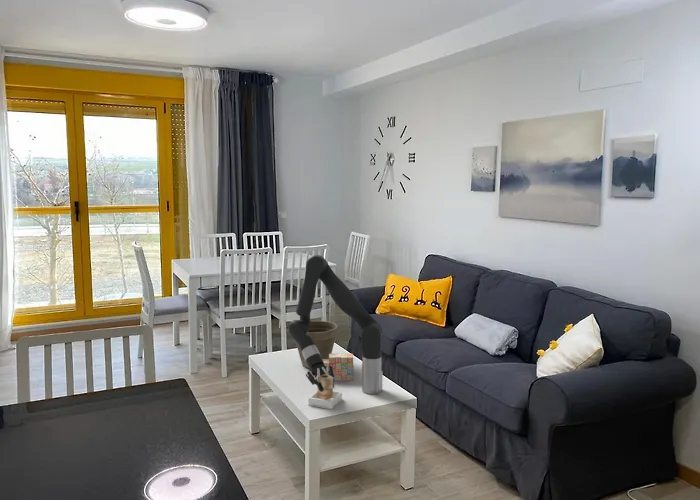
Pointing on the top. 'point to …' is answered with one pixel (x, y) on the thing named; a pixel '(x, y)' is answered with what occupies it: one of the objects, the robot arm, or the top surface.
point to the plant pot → (321, 338)
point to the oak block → (325, 387)
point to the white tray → (328, 403)
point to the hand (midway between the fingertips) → (327, 389)
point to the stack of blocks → (340, 365)
